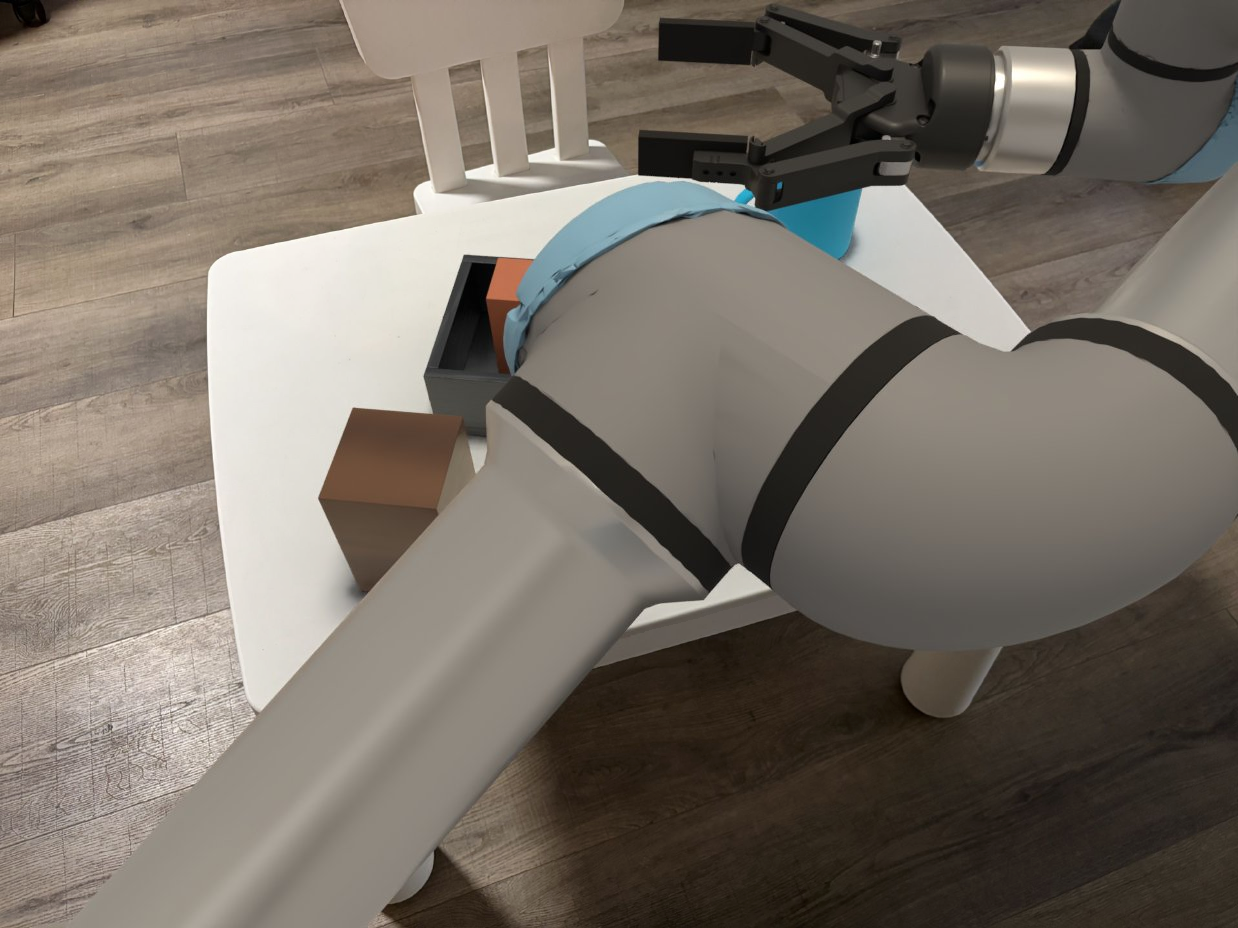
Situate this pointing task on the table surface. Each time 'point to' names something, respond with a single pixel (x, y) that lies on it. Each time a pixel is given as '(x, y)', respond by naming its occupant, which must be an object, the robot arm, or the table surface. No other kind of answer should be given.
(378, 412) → the plinth
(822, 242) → the mug
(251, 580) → the table surface
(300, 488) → the table surface
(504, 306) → the block
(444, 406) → the dark grey storage bin
